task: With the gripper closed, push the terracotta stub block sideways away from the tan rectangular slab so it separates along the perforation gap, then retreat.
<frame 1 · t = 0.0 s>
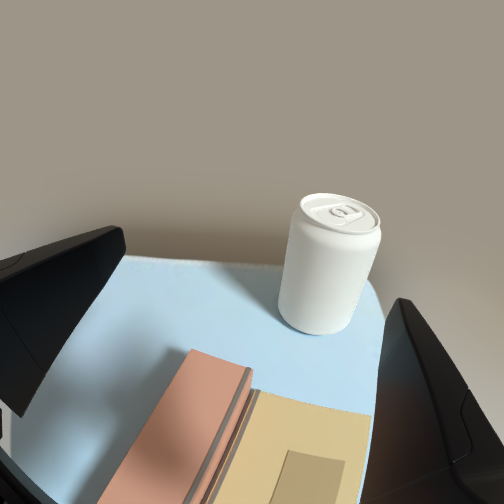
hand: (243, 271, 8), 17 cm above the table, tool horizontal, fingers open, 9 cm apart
stub: (172, 467, 14), point 2 cm above the table, slide at 0.0 cm
beverage can: (313, 312, 30), on the table
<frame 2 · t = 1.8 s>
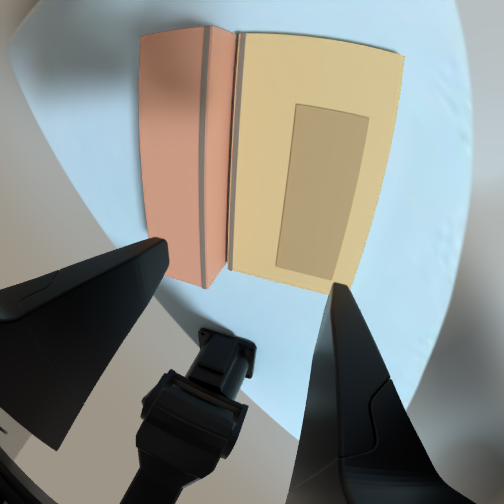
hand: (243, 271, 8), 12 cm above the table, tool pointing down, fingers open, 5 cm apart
tan rectangular slab: (305, 172, 18), on the table
stub: (185, 162, 19), point 2 cm above the table, slide at 0.0 cm
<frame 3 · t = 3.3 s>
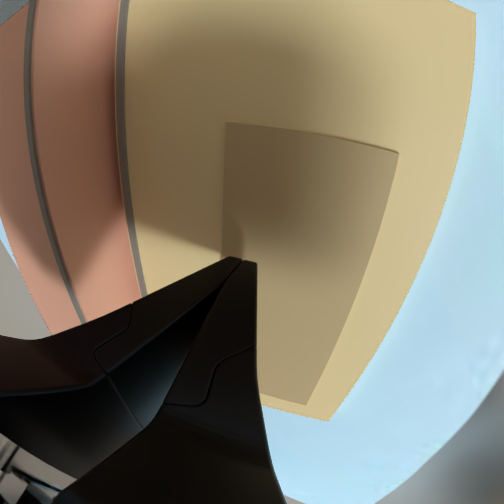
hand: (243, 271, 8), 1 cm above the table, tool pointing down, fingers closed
tan rectangular slab: (257, 259, 10), on the table
stub: (62, 236, 10), point 2 cm above the table, slide at 0.0 cm
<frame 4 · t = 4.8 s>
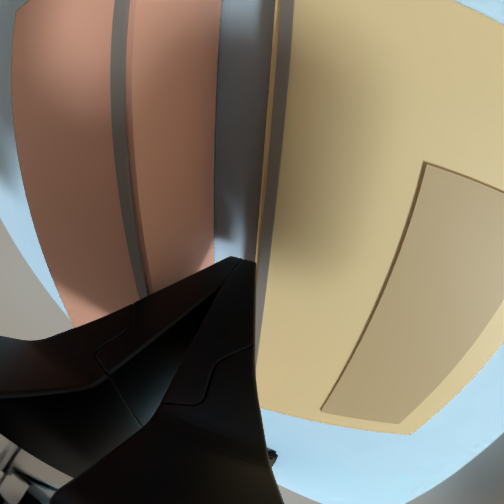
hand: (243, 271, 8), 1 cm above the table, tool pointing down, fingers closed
tan rectangular slab: (403, 298, 8), on the table
stub: (126, 264, 9), point 2 cm above the table, slide at 1.2 cm, touching gripper
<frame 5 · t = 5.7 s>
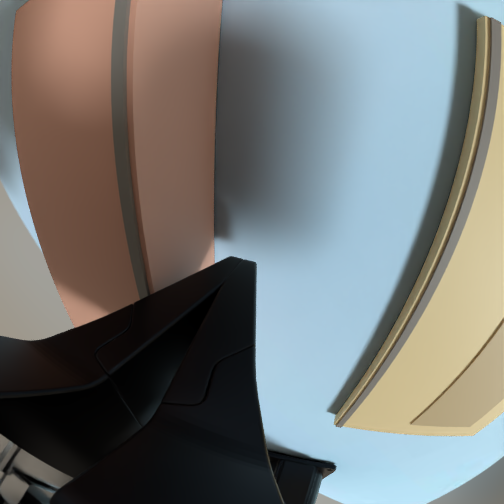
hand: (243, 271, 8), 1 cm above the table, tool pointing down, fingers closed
stub: (126, 263, 9), point 2 cm above the table, slide at 6.4 cm, touching gripper
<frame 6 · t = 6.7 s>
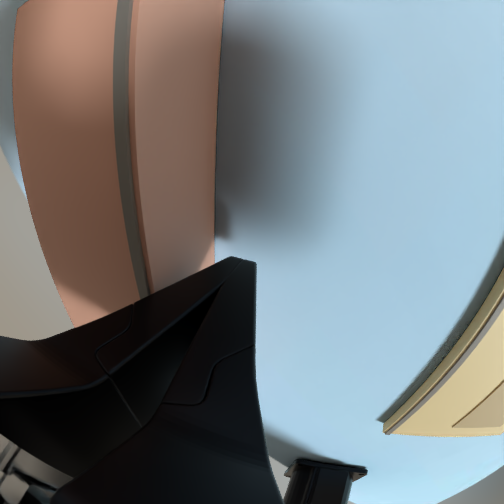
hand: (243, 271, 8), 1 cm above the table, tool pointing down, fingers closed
stub: (126, 263, 9), point 2 cm above the table, slide at 9.5 cm, touching gripper
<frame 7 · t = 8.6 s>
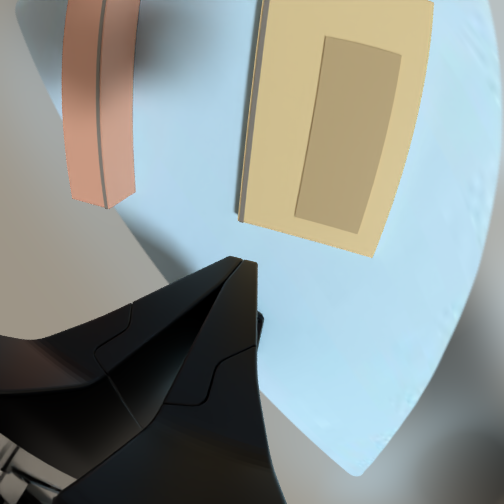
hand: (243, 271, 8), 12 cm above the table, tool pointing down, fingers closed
tan rectangular slab: (332, 109, 15), on the table
stub: (95, 94, 17), point 2 cm above the table, slide at 9.5 cm
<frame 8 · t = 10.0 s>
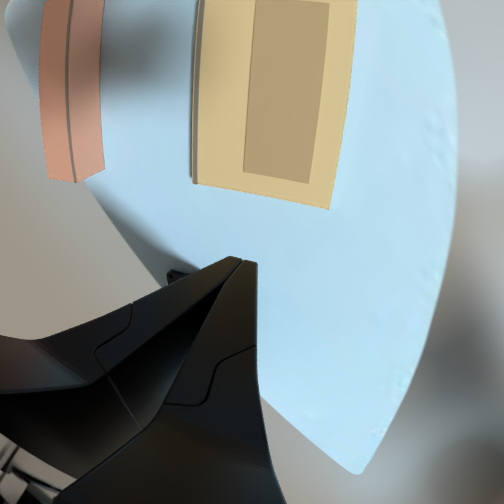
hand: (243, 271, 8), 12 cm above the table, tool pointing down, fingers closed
tan rectangular slab: (270, 63, 15), on the table
stub: (67, 81, 17), point 2 cm above the table, slide at 9.5 cm
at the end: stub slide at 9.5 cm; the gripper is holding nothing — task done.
